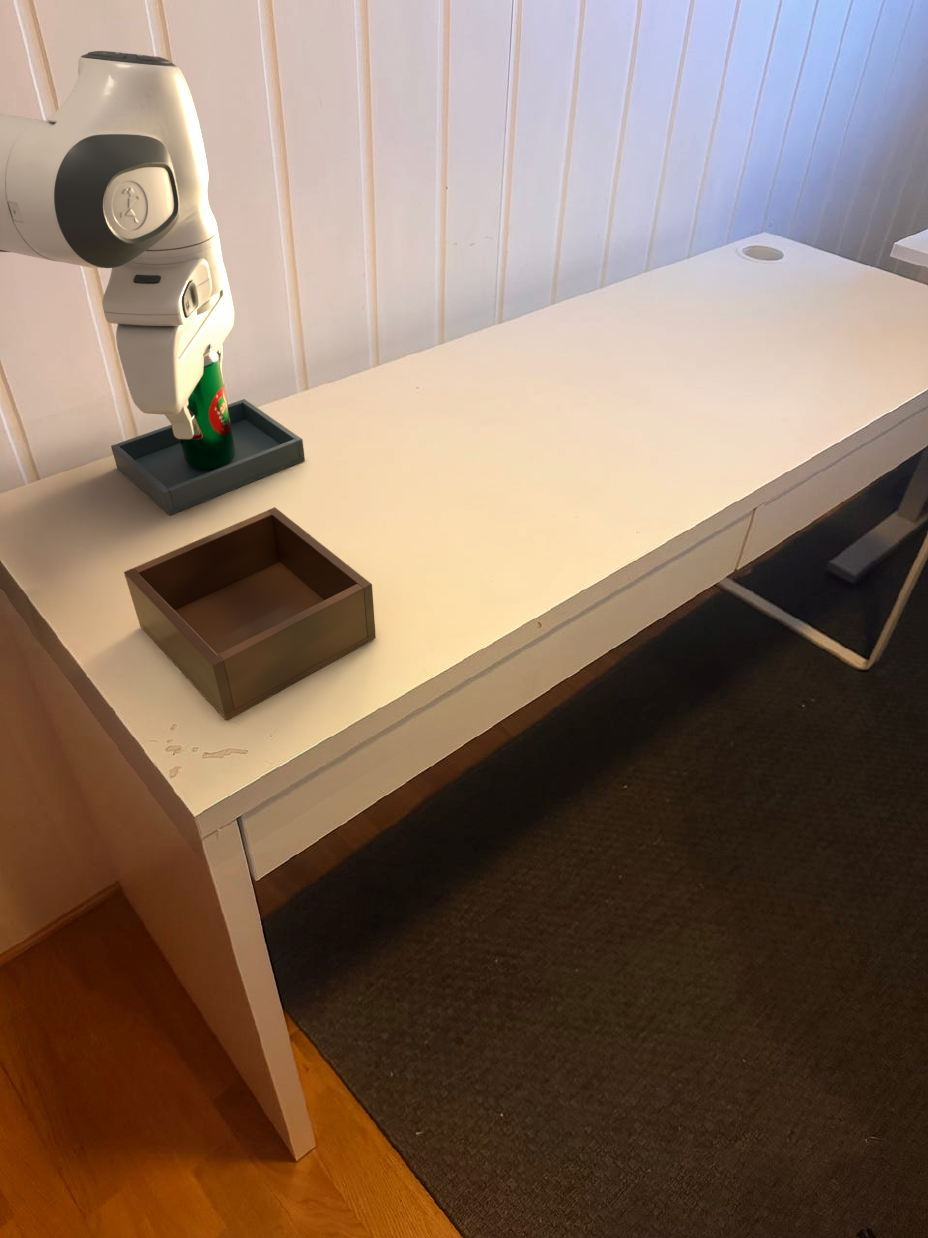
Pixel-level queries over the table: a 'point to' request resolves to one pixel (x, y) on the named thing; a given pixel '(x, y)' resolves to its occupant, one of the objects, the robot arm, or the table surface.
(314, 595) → the basket
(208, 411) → the soda can
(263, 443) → the tray
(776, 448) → the table surface
